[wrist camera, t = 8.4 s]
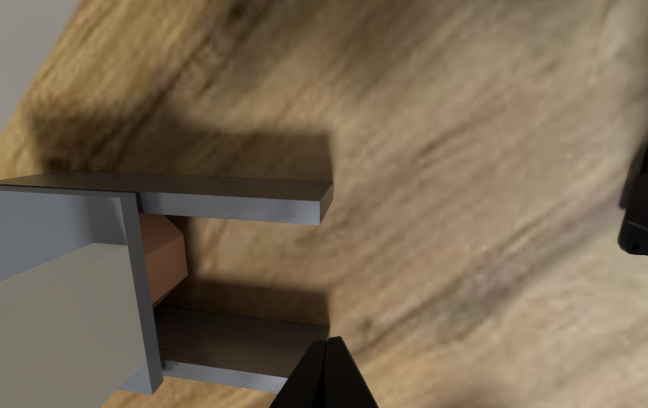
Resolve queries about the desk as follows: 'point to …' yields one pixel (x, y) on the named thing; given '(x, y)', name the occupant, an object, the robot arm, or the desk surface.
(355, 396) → the robot arm
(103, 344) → the sliding lid
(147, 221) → the terracotta cup
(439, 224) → the desk surface
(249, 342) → the metal rails
